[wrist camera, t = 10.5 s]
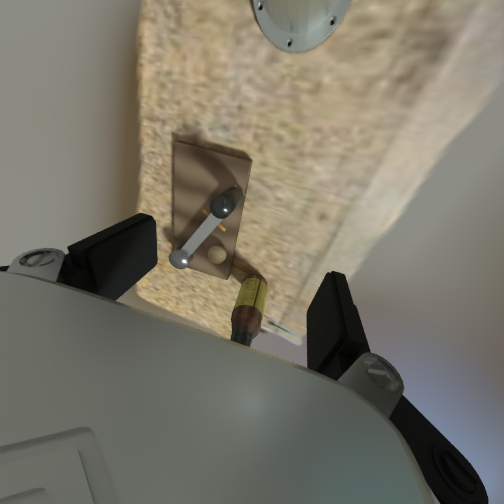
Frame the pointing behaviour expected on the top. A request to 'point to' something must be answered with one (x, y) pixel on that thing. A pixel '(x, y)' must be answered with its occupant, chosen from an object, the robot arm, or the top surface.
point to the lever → (207, 225)
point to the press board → (207, 203)
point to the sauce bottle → (248, 310)
